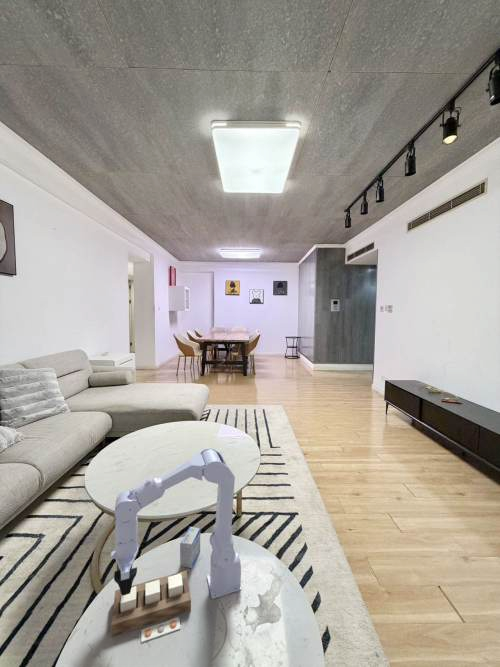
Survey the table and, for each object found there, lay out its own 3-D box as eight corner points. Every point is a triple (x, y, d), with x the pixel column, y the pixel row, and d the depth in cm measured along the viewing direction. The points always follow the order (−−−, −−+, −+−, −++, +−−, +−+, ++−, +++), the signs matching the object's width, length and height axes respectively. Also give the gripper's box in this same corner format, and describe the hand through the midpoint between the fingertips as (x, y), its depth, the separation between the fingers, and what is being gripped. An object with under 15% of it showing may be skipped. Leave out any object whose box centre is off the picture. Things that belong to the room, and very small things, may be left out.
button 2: (181, 582, 89) (181, 573, 88) (182, 594, 85) (182, 584, 85) (167, 586, 87) (167, 577, 87) (168, 599, 83) (168, 588, 83)
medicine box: (191, 569, 96) (192, 545, 96) (179, 566, 97) (179, 542, 97) (200, 550, 104) (200, 527, 103) (189, 548, 105) (189, 525, 104)
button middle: (159, 589, 86) (159, 579, 86) (160, 601, 83) (160, 591, 82) (145, 593, 85) (145, 583, 85) (145, 606, 81) (145, 596, 81)
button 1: (136, 596, 84) (136, 586, 84) (136, 609, 80) (136, 598, 80) (121, 600, 83) (121, 590, 82) (120, 614, 79) (120, 603, 79)
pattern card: (179, 618, 81) (179, 616, 81) (180, 629, 78) (180, 627, 78) (141, 630, 77) (141, 629, 77) (141, 642, 74) (141, 641, 74)
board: (186, 580, 92) (186, 570, 92) (190, 610, 83) (191, 599, 83) (115, 601, 85) (115, 590, 85) (111, 637, 76) (111, 625, 75)
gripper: (113, 521, 85) (114, 563, 86) (107, 560, 72) (108, 610, 73) (138, 516, 88) (138, 557, 89) (137, 553, 74) (137, 601, 75)
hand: (126, 580), depth 81 cm, fingers open, 7 cm apart
